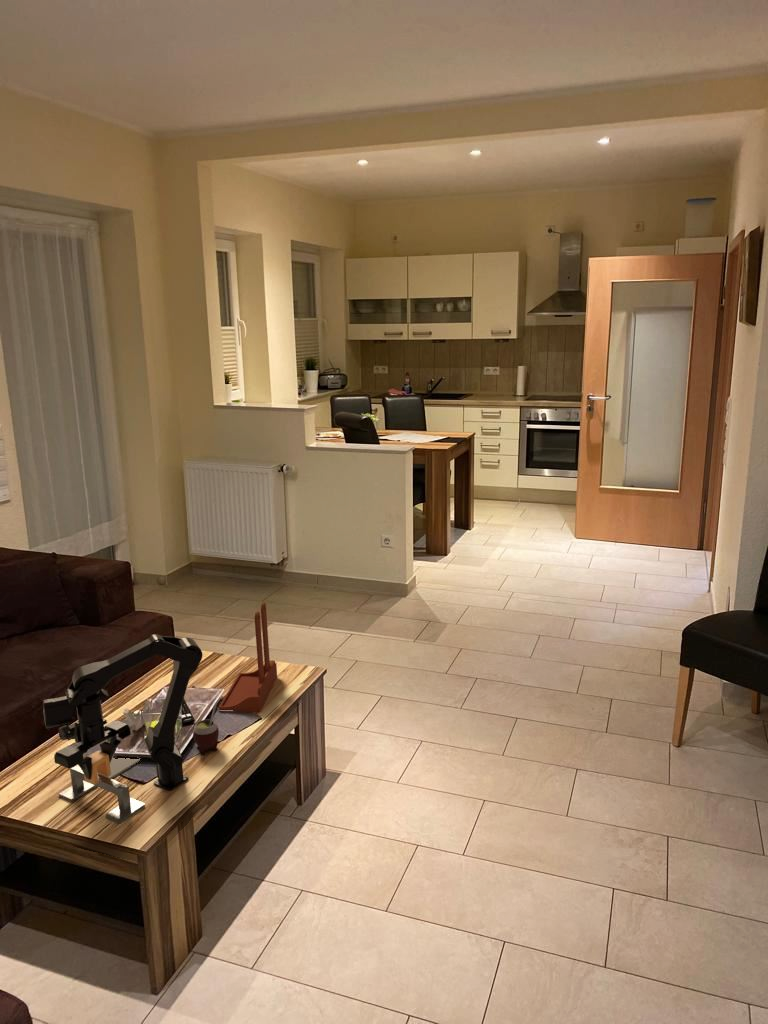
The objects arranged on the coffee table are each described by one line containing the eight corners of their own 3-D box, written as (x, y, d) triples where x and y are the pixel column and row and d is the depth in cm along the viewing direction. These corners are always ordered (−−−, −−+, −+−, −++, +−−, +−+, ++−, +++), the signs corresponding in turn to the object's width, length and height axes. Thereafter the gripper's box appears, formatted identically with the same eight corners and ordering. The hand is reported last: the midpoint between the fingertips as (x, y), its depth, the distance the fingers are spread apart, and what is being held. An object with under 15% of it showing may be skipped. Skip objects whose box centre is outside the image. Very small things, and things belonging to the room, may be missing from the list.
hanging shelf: (239, 677, 264) (233, 594, 257) (277, 678, 263) (271, 594, 255) (218, 712, 240) (211, 621, 233) (260, 712, 239) (253, 621, 232)
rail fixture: (145, 806, 193) (142, 781, 192) (119, 824, 187) (116, 798, 185) (85, 780, 205) (82, 757, 204) (59, 796, 199) (55, 772, 197)
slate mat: (141, 760, 214) (140, 759, 214) (105, 782, 204) (105, 780, 204) (107, 747, 221) (107, 745, 221) (71, 768, 211) (71, 766, 211)
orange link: (111, 774, 195) (108, 754, 194) (95, 784, 191) (92, 763, 190) (100, 770, 197) (98, 750, 196) (84, 779, 193) (82, 759, 192)
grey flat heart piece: (140, 723, 234) (137, 699, 232) (145, 724, 234) (142, 700, 232) (125, 735, 228) (122, 710, 226) (130, 736, 227) (127, 711, 225)
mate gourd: (190, 754, 216) (185, 705, 213) (203, 740, 224) (199, 692, 220) (214, 757, 214) (210, 708, 211) (227, 743, 222) (223, 695, 218)
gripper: (100, 694, 202) (106, 748, 206) (36, 726, 187) (44, 783, 190) (129, 704, 196) (135, 759, 200) (65, 737, 181) (73, 796, 185)
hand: (97, 773), depth 194 cm, fingers closed on orange link, 5 cm apart
